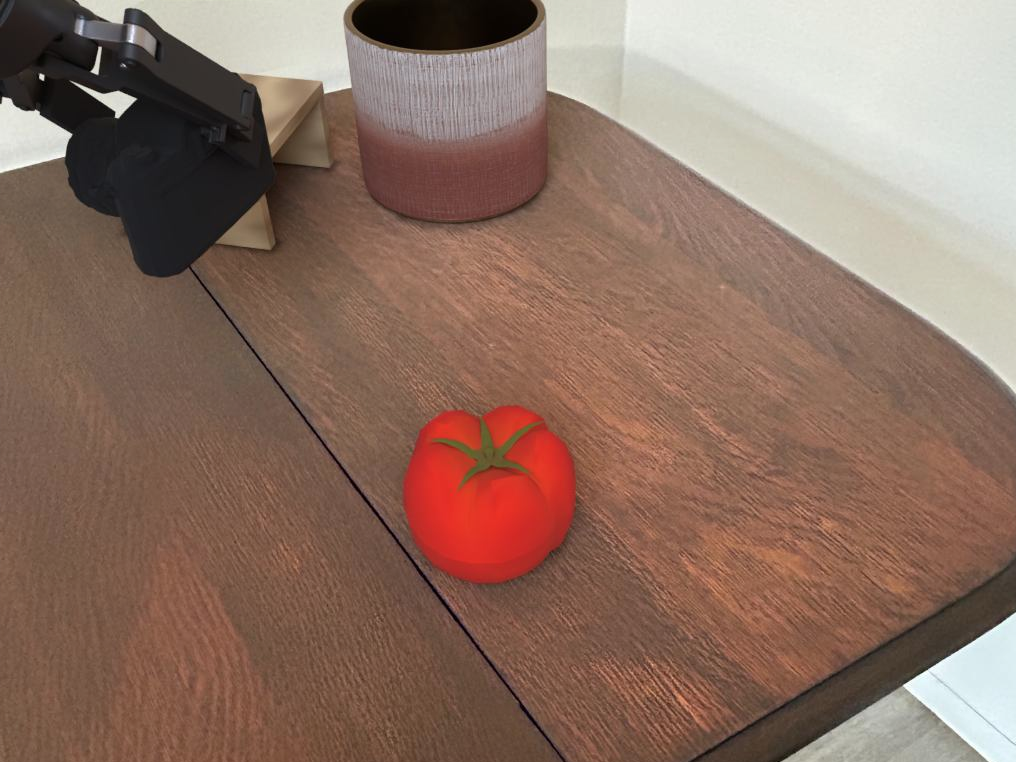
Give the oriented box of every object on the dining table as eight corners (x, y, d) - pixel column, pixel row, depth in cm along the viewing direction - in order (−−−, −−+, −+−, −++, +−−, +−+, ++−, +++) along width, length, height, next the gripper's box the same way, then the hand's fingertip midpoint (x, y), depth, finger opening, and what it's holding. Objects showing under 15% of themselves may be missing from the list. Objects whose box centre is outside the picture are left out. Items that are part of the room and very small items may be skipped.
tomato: (394, 601, 64) (377, 500, 57) (433, 470, 72) (422, 367, 65) (562, 619, 63) (565, 518, 56) (583, 484, 71) (588, 382, 64)
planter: (379, 137, 106) (358, -28, 94) (550, 140, 105) (551, -26, 94) (350, 229, 94) (323, 53, 82) (544, 232, 93) (544, 56, 82)
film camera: (177, 154, 75) (142, 26, 68) (294, 176, 73) (269, 46, 66) (44, 262, 65) (-11, 125, 59) (175, 291, 63) (132, 152, 57)
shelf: (125, 234, 93) (97, 150, 87) (205, 147, 104) (185, 67, 98) (269, 252, 91) (250, 167, 85) (335, 161, 102) (322, 80, 96)
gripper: (-287, 28, 48) (21, 177, 70) (154, 74, 45) (332, 215, 67) (-270, -135, 48) (35, 66, 70) (177, -101, 44) (349, 99, 66)
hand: (181, 139), depth 68 cm, fingers closed on film camera, 10 cm apart
